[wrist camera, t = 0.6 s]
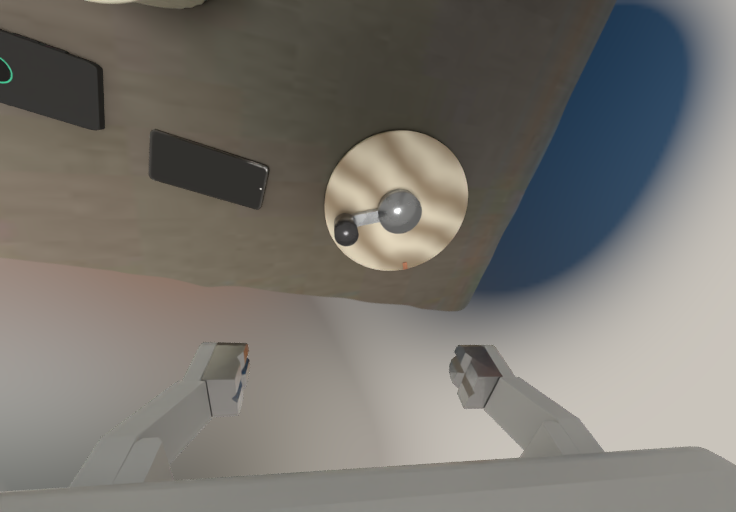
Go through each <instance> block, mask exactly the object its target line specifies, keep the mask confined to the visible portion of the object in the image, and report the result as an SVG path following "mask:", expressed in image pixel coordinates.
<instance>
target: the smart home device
mask: <svg viewBox="0 0 736 512" xmlns="http://www.w3.org/2000/svg"><path fill="white" fill-rule="evenodd" d="M0 103H4V104H7V105H10V106H14V107H17V108H20V109H24V110H27V111H30V112H34V113H37V114H40V115H44V116H47V117H50V118H54V119H57V120H60V121H64V122H67V123H70V124H74V125H77V126H80V127H83V128H87V129H90V130H100V129H104V128H105V120H104V93H103V69H102V68H101V67H100V66H99V65H97V64H96V63H94V62H91V61H89V60H86V59H83V58H80V57H77V56H74V55H72V54H69V53H68V52H66V51H64V50H61V49H58V48H55V47H52V46H49V45H47V44H44V43H41V42H38V41H35V40H32V39H30V38H27V37H24V36H21V35H18V34H15V33H9V32H7V31H4V30H1V29H0Z"/></svg>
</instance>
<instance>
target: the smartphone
mask: <svg viewBox="0 0 736 512" xmlns="http://www.w3.org/2000/svg"><path fill="white" fill-rule="evenodd" d="M268 174H269V168H268V167H267V166H266V165H263V164H260V163H257V162H254V161H251V160H248V159H245V158H242V157H239V156H236V155H233V154H230V153H226V152H223V151H220V150H217V149H214V148H211V147H208V146H205V145H202V144H199V143H196V142H193V141H190V140H187V139H184V138H181V137H178V136H175V135H172V134H169V133H165V132H162V131H159V130H156V129H154V130H152V131H151V132H150V147H149V177H150V178H151V179H153V180H155V181H159V182H162V183H166V184H169V185H173V186H176V187H180V188H183V189H187V190H190V191H194V192H197V193H200V194H204V195H207V196H211V197H214V198H217V199H221V200H225V201H228V202H231V203H235V204H238V205H242V206H246V207H249V208H252V209H256V210H258V209H260V208H261V206H262V202H263V198H264V193H265V188H266V184H267V179H268Z"/></svg>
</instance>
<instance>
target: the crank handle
mask: <svg viewBox="0 0 736 512" xmlns="http://www.w3.org/2000/svg"><path fill="white" fill-rule="evenodd" d="M421 215H422V207H421V204H420V202H419V200H418V199H417V198H416V197H415V195H414V194H412V193H411V192H410V191H407V190H404V189H396V190H392V191H390V192H388V193H387V194H385V195H384V196H383V197H382V199H381V200H380V202H379V204H378V207H377V209H372V210H368V211H363V212H358V213H353V214H348V213H342V214H339V215H338V216H337V217H336V218H335V220H334V237H335V240H336V242H337V243H338V244H340V245H342V246H351V245H353V244H354V243H356V241H357V240H358V237H359V233H358V228H357V227H359V226H363V225H368V224H373V223H378V222H380V223H381V225H382V226H383V228H384V229H385V230H387V231H389V232H391V233H394V234H402V233H406V232H408V231H410V230H412V229H413V228H414V227H415V226H416V225H417V224H418V222H419V221H420V218H421Z"/></svg>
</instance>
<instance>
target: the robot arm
mask: <svg viewBox="0 0 736 512" xmlns="http://www.w3.org/2000/svg"><path fill="white" fill-rule="evenodd" d="M248 352H249V347H248V344H247V343H219V342H218V343H212V342H210V343H209V342H203V343H202V344H201V345H200V346H199V348H198V350H197V352H196V354H195V356H194V358H193V360H192V362H191V364H190V366H189V368H188V370H187V372H186V374H185V376H184V378H183V380H182V381H177V382H175V383H174V384H173V385H172V386H170V387H169V388H167V389H166V390H165V391H163V392H162V393H161V394H160V395H158V396H157V397H155V398H154V399H152V400H151V401H150V402H148V403H147V404H146V405H144V406H143V407H142V408H140V409H139V410H138V411H136V412H135V413H134V414H132V415H131V416H130V417H128V418H127V419H125V420H124V421H123V422H121V423H120V424H119V425H117V426H116V427H115V428H113V429H112V430H111V431H109V432H108V433H107V434H105V435H104V436H102V437H101V438H100V440H99V441H98V443H97V444H96V446H95V447H94V449H93V450H92V452H91V453H90V455H89V457H88V458H87V459H86V461H85V463H84V464H83V466H82V467H81V469H80V470H79V472H78V473H77V475H76V476H75V478H74V479H73V481H72V483H71V484H70V486H69V487H68V488H51V489H36V490H21V491H6V492H0V512H736V465H734V464H733V463H731V462H729V461H727V460H726V459H724V458H722V457H721V456H719V455H717V454H715V453H713V452H711V451H709V450H707V449H704V448H701V447H675V448H660V449H645V450H631V451H616V452H604V450H603V449H602V448H601V447H600V445H599V444H598V443H597V441H596V440H595V439H594V438H593V436H592V435H591V433H590V432H589V431H588V430H587V428H586V427H585V426H584V425H583V423H582V422H581V421H580V419H579V418H577V417H576V416H574V415H573V414H571V413H570V412H568V411H567V410H566V409H564V408H563V407H561V406H560V405H559V404H557V403H556V402H554V401H553V400H551V399H550V398H548V397H547V396H546V395H544V394H542V393H541V392H540V391H538V390H537V389H536V388H534V387H533V386H531V385H530V384H528V383H527V382H525V381H524V380H523V379H521V378H520V377H515V375H514V374H513V372H512V371H511V369H510V368H509V366H508V365H507V363H506V362H505V360H504V359H503V357H502V356H501V354H500V353H499V351H498V350H497V349H496V347H495V346H493V345H458V346H457V347H456V349H455V354H456V356H455V357H454V358H453V359H452V360H451V362H450V365H449V373H450V378H451V380H452V383H453V384H454V385H455V386H456V387H458V392H457V394H458V396H459V399H460V401H461V403H462V406H463V408H464V409H467V408H468V409H472V408H474V409H476V408H477V409H479V408H481V409H482V408H484V410H485V411H486V412H487V413H488V414H489V415H490V416H491V417H492V418H493V419H494V420H495V421H496V422H497V423H498V424H499V425H500V426H501V427H502V428H503V429H504V430H505V431H506V432H507V433H508V434H509V435H510V437H511V438H513V439H514V440H515V441H516V443H518V444H519V445H520V446H521V447H522V448H523V450H524V451H523V453H522V454H521V456H520V457H519V458H510V459H495V460H494V459H493V460H478V461H463V462H449V463H432V464H418V465H402V466H387V467H372V468H357V469H342V470H327V471H313V472H297V473H281V474H266V475H252V476H236V477H220V478H205V479H190V480H174V478H173V475H172V471H171V468H170V464H171V463H172V462H173V461H174V460H175V458H176V457H177V456H178V455H179V454H180V453H181V452H182V451H183V450H184V449H185V447H186V446H187V445H188V444H189V443H190V442H191V441H192V440H193V439H194V438H195V437H196V435H197V434H198V433H199V432H200V431H201V430H202V429H203V428H204V427H205V426H206V424H207V423H208V422H209V421H210V420H211V419H212V417H224V416H238V415H239V412H240V408H241V405H242V401H243V389H244V388H245V387H246V386H247V382H248V377H249V371H250V360H249V359H248V358H247V356H248Z"/></svg>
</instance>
